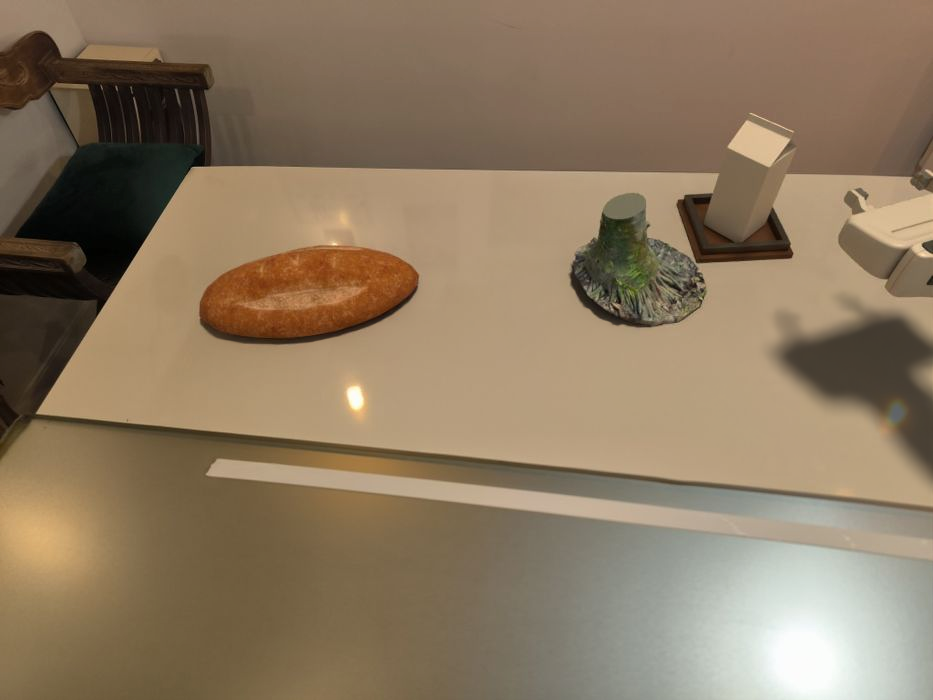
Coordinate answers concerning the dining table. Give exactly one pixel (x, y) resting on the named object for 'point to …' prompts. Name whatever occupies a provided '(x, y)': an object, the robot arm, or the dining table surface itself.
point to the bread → (306, 292)
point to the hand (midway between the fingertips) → (884, 184)
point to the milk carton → (750, 178)
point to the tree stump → (637, 268)
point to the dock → (719, 248)
